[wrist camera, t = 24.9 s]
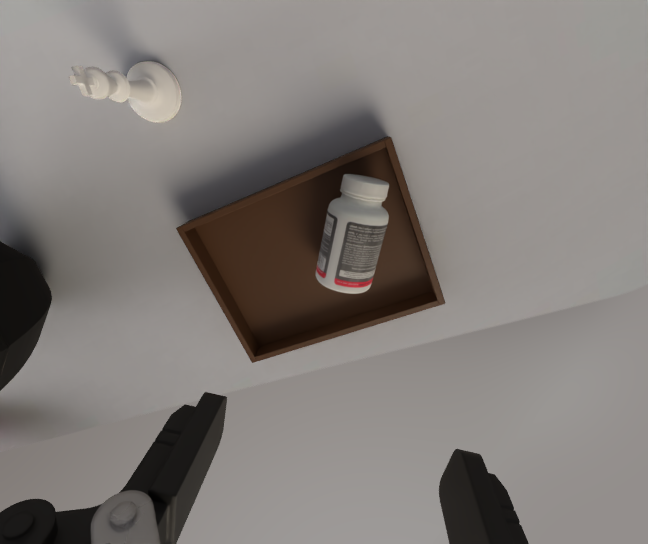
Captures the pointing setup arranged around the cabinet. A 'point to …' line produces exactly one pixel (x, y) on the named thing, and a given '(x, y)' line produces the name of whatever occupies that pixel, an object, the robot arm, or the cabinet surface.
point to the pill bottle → (353, 235)
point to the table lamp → (19, 310)
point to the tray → (309, 258)
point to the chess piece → (134, 88)
